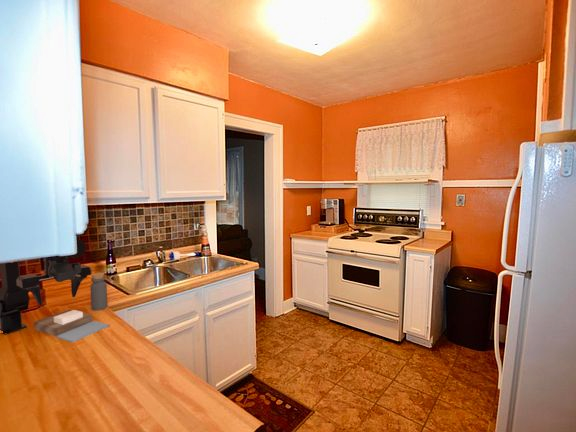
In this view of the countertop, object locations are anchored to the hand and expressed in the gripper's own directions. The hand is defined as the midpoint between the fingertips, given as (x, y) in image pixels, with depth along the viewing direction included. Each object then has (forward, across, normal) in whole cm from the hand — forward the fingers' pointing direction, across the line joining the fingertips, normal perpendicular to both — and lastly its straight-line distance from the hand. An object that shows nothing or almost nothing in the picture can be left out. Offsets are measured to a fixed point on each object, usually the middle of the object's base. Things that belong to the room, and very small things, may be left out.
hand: (57, 301), depth 97 cm
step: (+14, +6, +12) cm, 19 cm away
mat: (+14, +8, +1) cm, 16 cm away
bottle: (+14, +22, +20) cm, 33 cm away
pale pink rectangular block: (+11, +6, +9) cm, 16 cm away
